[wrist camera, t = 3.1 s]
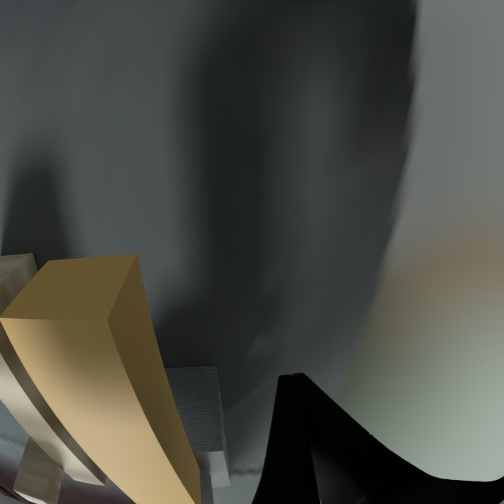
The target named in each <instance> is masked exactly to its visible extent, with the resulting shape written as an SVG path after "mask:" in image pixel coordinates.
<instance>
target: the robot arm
mask: <svg viewBox="0 0 504 504" xmlns="http://www.w3.org/2000/svg"><path fill="white" fill-rule="evenodd" d="M319 497H320V498H319ZM320 500H321V503H322V504H504V476H503V477H502V478H500V479H498V480H495V481H488V482H481V481H462V480H450V479H441V478H437V477H434V476H431V475H429V474H427V473H425V472H424V471H422V470H420V469H419V468H417V467H415V466H414V465H412V464H411V463H409V462H407V461H406V460H404V459H403V458H401V457H400V456H398V455H397V454H395V453H394V452H392V451H391V450H389V449H388V448H387V447H386V446H384V445H383V444H382V443H381V442H379V441H378V440H377V439H376V438H375V437H374V436H372V435H371V434H370V435H369V432H368V431H367V430H365V429H364V428H363V427H362V426H361V425H360V424H359V423H357V422H356V421H355V420H354V419H353V418H352V417H351V416H350V415H349V414H348V413H346V412H345V411H344V410H343V409H342V408H341V407H340V406H339V405H338V404H337V403H335V402H334V401H333V400H332V399H331V398H330V397H329V396H328V395H327V394H326V393H325V392H323V391H322V390H321V389H320V388H319V387H318V386H317V385H316V384H315V383H314V382H313V381H312V380H311V379H310V378H309V377H308V376H306V375H305V374H304V373H295V374H292V375H290V374H288V375H280V376H279V377H278V383H277V390H276V396H275V403H274V409H273V415H272V421H271V427H270V433H269V439H268V445H267V450H266V457H265V461H264V466H263V470H262V475H261V479H260V482H259V485H258V488H257V491H256V494H255V496H254V499H253V501H252V504H320Z"/></svg>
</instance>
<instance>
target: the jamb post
mask: <svg viewBox="0 0 504 504" xmlns="http://www.w3.org/2000/svg"><path fill="white" fill-rule="evenodd" d="M164 369H165V372H166V376H167V379H168V382H169V385H170V389H171V392H172V395H173V398H174V401H175V404H176V407H177V410H178V413H179V416H180V419H181V422H182V424H183V427H184V430H185V433H186V436H187V438H188V441H189V444H190V446H191V449H192V451H193V454H194V456H195V459H196V461H197V464H198V466H199V469H202V470H204V471H206V472H208V473H209V474H210V475H211V478H212V488H218V487H231V481H230V472H229V463H228V453H227V443H226V432H225V421H224V412H223V405H222V399H221V392H220V385H219V377H218V370H217V365H214V366H196V367H169V368H164Z"/></svg>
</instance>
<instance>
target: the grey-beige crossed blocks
mask: <svg viewBox="0 0 504 504" xmlns="http://www.w3.org/2000/svg"><path fill="white" fill-rule="evenodd" d="M37 272H38V269H37V266H36V263H35V259H34V256H33V253H26V254H16V255H5V256H0V316H1V315H2V313H3V312H4V311H5V310H6V308H7V307H8V306H9V305H10V303H11V302H12V301H13V300H14V299H15V297H16V296H17V295H18V294H19V293H20V292H21V290H22V289H23V288H24V287H25V286H26V285H27V284H28V282H29V281H30V280H31V279H32V278H33V277H34V276H35V275H36V273H37ZM0 399H1V400H2V402H3V403H4V404H5V406H6V407H7V408H8V410H9V411H10V412H11V413H12V415H13V416H14V417H15V418H16V420H17V421H18V422H19V423H20V425H21V426H22V427H23V428H24V429H25V430H26V432H27V433H28V434H29V435H30V436H29V439H28V442H27V445H26V448H25V451H24V454H23V457H22V460H21V464H20V467H19V470H18V474H17V477H16V481H15V485H14V489H13V490H14V491H16V492H17V493H18V494H20V495H21V496H23V497H24V498H25V499H27V500H29V501H32V502H34V503H37V504H57V503H58V497H59V492H60V487H61V482H62V477H63V473H64V471H65V472H66V473H67V474H68V475H70V476H71V477H72V478H73V479H74V480H76V481H81V482H86V483H91V484H97V485H103V486H105V484H106V476H107V475H106V474H105V473H104V472H103V471H102V470H101V469H100V468H99V467H98V466H97V465H96V463H95V462H94V461H93V460H92V459H91V458H90V457H89V456H88V455H87V453H86V452H85V451H84V450H83V449H82V448H81V446H80V445H79V444H78V443H77V442H76V440H75V439H74V438H73V437H72V436H71V434H70V433H69V432H68V431H67V429H66V428H65V427H64V425H63V424H62V423H61V421H60V420H59V419H58V417H57V416H56V415H55V413H54V412H53V410H52V409H51V408H50V406H49V405H48V403H47V402H46V400H45V399H44V397H43V396H42V394H41V393H40V391H39V390H38V388H37V387H36V385H35V384H34V382H33V380H32V379H31V377H30V376H29V374H28V372H27V371H26V369H25V367H24V365H23V364H22V362H21V360H20V358H19V356H18V355H17V353H16V351H15V349H14V347H13V345H12V343H11V341H10V339H9V338H8V335H7V333H6V331H5V329H4V327H3V325H2V323H1V321H0Z"/></svg>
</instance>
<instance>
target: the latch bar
mask: <svg viewBox="0 0 504 504" xmlns="http://www.w3.org/2000/svg"><path fill="white" fill-rule="evenodd" d="M0 321H1V323H2V325H3V327H4V329H5V331H6V333H7V335H8V338H9V339H10V341H11V343H12V345H13V347H14V349H15V351H16V353H17V355H18V356H19V358H20V360H21V362H22V364H23V365H24V367H25V369H26V371H27V372H28V374H29V376H30V377H31V379H32V380H33V382H34V384H35V385H36V387H37V388H38V390H39V391H40V393H41V394H42V396H43V397H44V399H45V400H46V402H47V403H48V405H49V406H50V408H51V409H52V410H53V412H54V413H55V415H56V416H57V417H58V419H59V420H60V421H61V423H62V424H63V425H64V427H65V428H66V429H67V431H68V432H69V433H70V434H71V436H72V437H73V438H74V439H75V440H76V442H77V443H78V444H79V445H80V446H81V448H82V449H83V450H84V451H85V452H86V453H87V455H88V456H89V457H90V458H91V459H92V460H93V461H94V462H95V463H96V465H97V466H98V467H99V468H100V469H101V470H102V471H103V472H104V473H105V474H106V475H107V476H108V477H109V478H110V479H111V480H112V481H113V482H114V483H115V484H116V485H117V486H118V487H119V488H120V489H121V490H122V491H123V492H124V493H125V494H127V495H128V496H129V497H130V498H131V499H132V500H133V501H134V502H135V503H137V504H213V492H212V478H211V475H210V474H209V473H208V472H206V471H204V470H202V469H199V466H198V464H197V461H196V459H195V456H194V454H193V451H192V449H191V446H190V444H189V441H188V438H187V436H186V433H185V430H184V427H183V424H182V422H181V419H180V416H179V413H178V410H177V407H176V404H175V401H174V398H173V395H172V392H171V389H170V385H169V382H168V379H167V376H166V372H165V369H164V365H163V362H162V358H161V355H160V351H159V348H158V344H157V340H156V336H155V332H154V328H153V324H152V320H151V316H150V312H149V308H148V303H147V299H146V294H145V290H144V285H143V280H142V275H141V270H140V265H139V260H138V254H130V255H116V256H102V257H88V258H75V259H61V260H49V261H48V262H47V263H46V264H45V265H44V266H43V267H42V268H41V269H40V270H39V271H38V272H37V273H36V275H35V276H34V277H33V278H32V279H31V280H30V281H29V282H28V284H27V285H26V286H25V287H24V288H23V289H22V290H21V292H20V293H19V294H18V295H17V296H16V297H15V299H14V300H13V301H12V302H11V303H10V305H9V306H8V307H7V308H6V310H5V311H4V312H3V313H2V315H1V316H0Z"/></svg>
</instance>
